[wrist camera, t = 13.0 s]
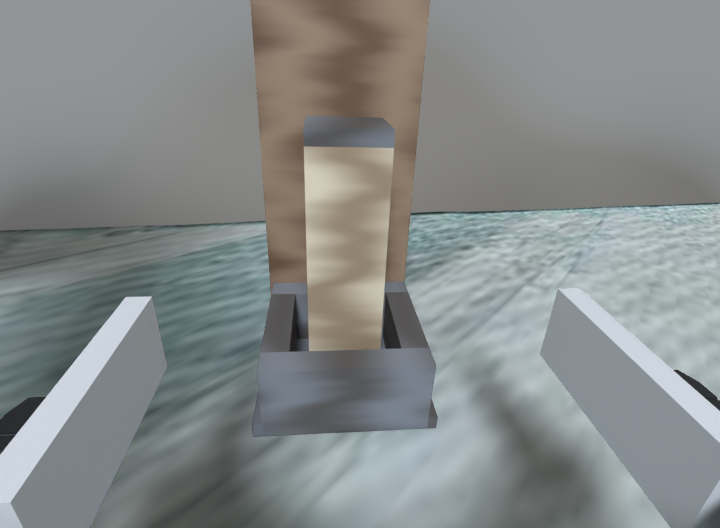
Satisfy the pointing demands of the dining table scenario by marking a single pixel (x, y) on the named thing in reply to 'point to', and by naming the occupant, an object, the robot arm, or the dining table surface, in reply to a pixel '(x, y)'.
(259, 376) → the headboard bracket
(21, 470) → the robot arm
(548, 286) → the dining table surface
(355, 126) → the beige wooden tall block
